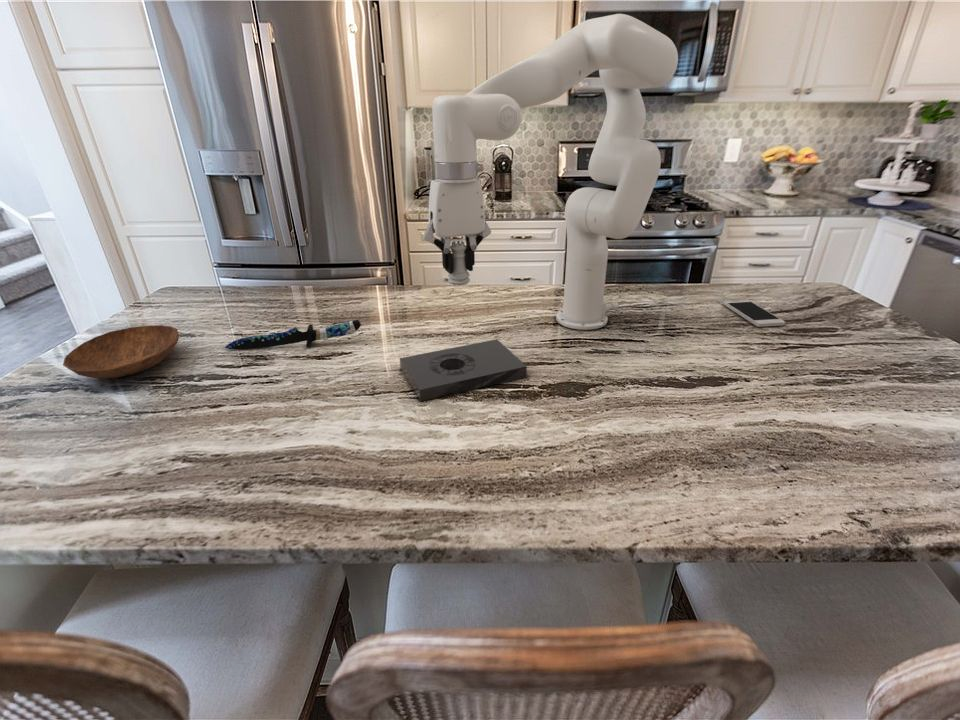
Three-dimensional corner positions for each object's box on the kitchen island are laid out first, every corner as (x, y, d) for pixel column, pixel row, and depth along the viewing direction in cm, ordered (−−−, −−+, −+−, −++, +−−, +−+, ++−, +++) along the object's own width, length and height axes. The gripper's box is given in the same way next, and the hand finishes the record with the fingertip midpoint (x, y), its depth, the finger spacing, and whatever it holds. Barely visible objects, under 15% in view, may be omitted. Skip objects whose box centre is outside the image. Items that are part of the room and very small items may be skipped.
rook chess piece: (467, 286, 97) (466, 245, 94) (445, 285, 98) (443, 244, 95) (472, 279, 101) (471, 240, 98) (451, 278, 102) (449, 239, 98)
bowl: (198, 341, 117) (192, 321, 115) (161, 387, 98) (153, 365, 95) (106, 348, 114) (98, 328, 112) (50, 397, 95) (39, 374, 92)
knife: (364, 335, 115) (359, 317, 113) (362, 340, 112) (357, 322, 110) (234, 352, 115) (227, 335, 113) (228, 358, 113) (221, 340, 111)
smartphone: (757, 327, 119) (758, 323, 118) (722, 304, 132) (723, 300, 132) (785, 325, 119) (786, 321, 119) (747, 302, 133) (748, 299, 133)
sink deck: (497, 349, 110) (497, 339, 109) (526, 377, 99) (526, 366, 98) (400, 368, 103) (399, 358, 102) (420, 401, 91) (419, 390, 90)
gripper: (489, 167, 96) (489, 261, 104) (406, 172, 91) (413, 270, 99) (506, 172, 90) (504, 270, 98) (417, 177, 84) (423, 281, 93)
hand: (458, 269), depth 98 cm, fingers closed on rook chess piece, 3 cm apart
